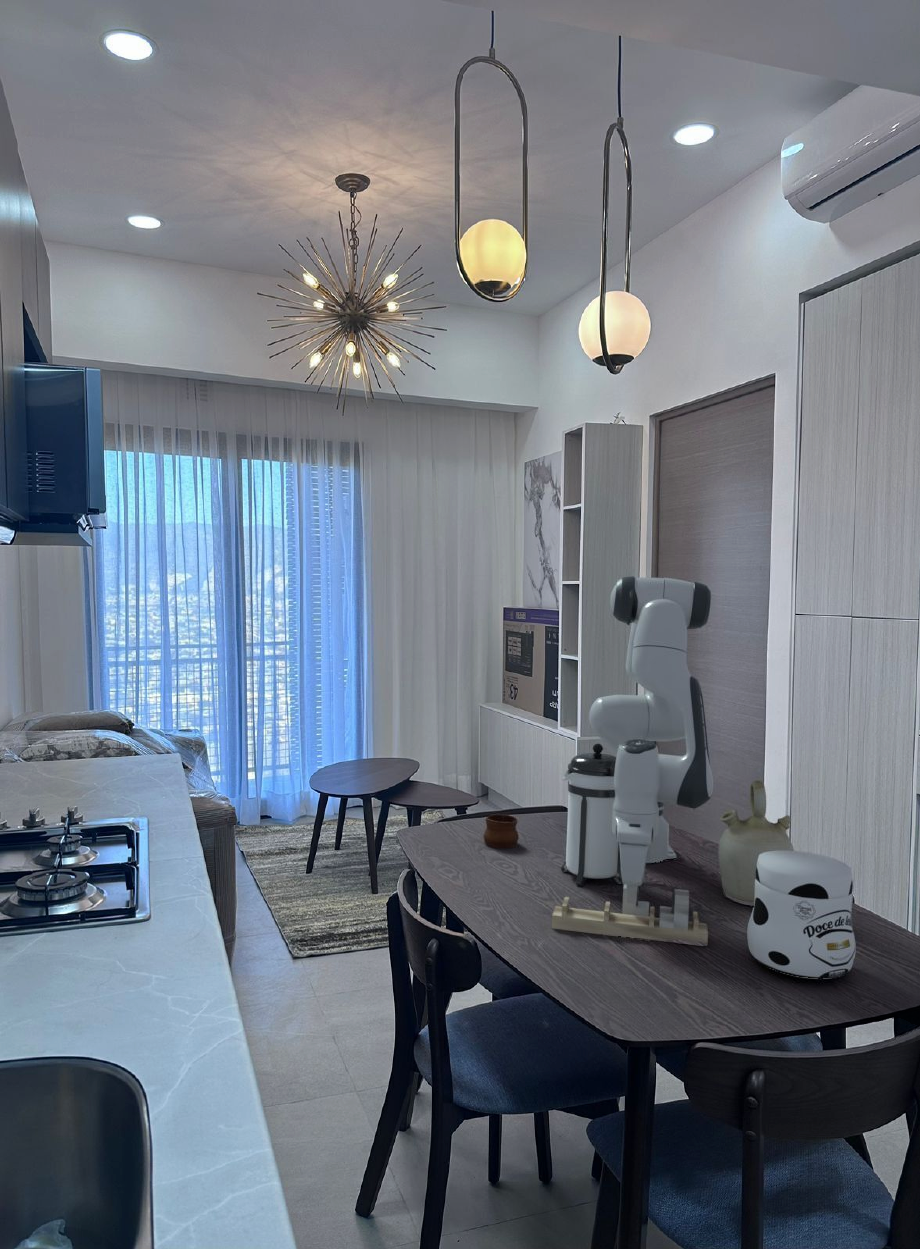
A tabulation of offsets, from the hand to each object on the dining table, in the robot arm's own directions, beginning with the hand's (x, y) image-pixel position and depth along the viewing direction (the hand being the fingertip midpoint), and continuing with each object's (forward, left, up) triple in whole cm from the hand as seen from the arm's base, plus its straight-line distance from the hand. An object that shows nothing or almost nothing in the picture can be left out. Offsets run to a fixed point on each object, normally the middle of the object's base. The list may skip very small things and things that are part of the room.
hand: (632, 894), depth 169 cm
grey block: (-1, +1, -4) cm, 4 cm away
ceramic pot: (-40, -33, -5) cm, 53 cm away
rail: (+8, 0, -4) cm, 10 cm away
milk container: (+14, +29, -5) cm, 33 cm away
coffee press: (-23, -8, -5) cm, 24 cm away
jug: (-19, +25, -5) cm, 32 cm away
